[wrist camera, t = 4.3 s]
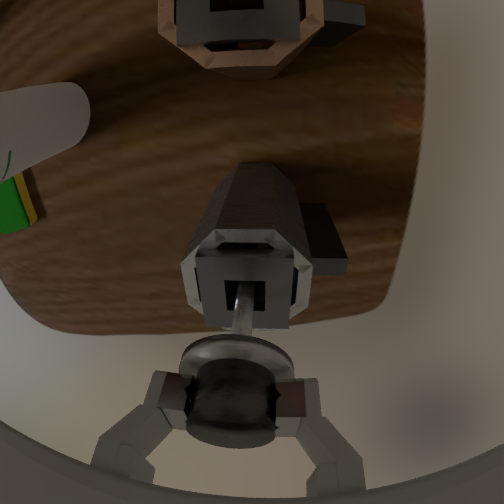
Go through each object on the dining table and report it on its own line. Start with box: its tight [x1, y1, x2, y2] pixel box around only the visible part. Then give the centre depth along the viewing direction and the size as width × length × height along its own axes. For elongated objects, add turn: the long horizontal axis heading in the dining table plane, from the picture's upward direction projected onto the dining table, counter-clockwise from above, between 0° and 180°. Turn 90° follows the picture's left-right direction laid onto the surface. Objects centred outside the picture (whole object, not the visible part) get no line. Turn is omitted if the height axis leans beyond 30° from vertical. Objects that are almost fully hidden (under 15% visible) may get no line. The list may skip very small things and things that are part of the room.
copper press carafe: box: [158, 0, 366, 80], centre depth 13 cm, size 7×9×13 cm
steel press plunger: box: [179, 242, 295, 449], centre depth 14 cm, size 4×4×12 cm
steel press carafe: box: [180, 163, 348, 331], centre depth 20 cm, size 7×9×13 cm
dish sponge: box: [0, 172, 38, 235], centre depth 24 cm, size 7×14×2 cm, turn 9°
